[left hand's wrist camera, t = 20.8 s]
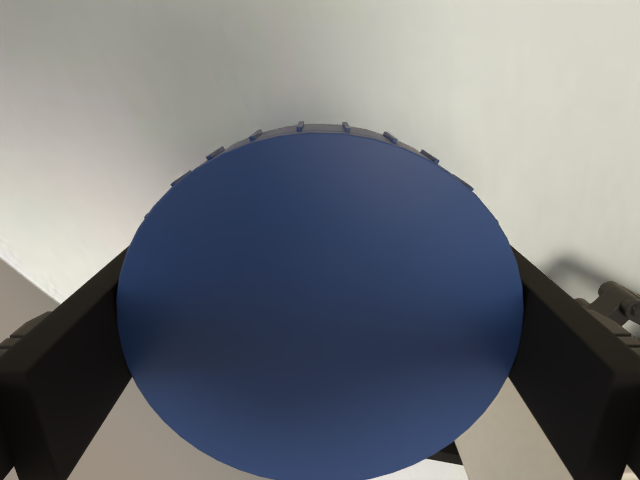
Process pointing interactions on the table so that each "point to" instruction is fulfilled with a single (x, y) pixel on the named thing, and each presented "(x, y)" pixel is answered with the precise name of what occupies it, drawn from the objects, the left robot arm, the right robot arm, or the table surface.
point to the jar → (511, 444)
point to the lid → (319, 305)
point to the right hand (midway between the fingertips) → (447, 378)
